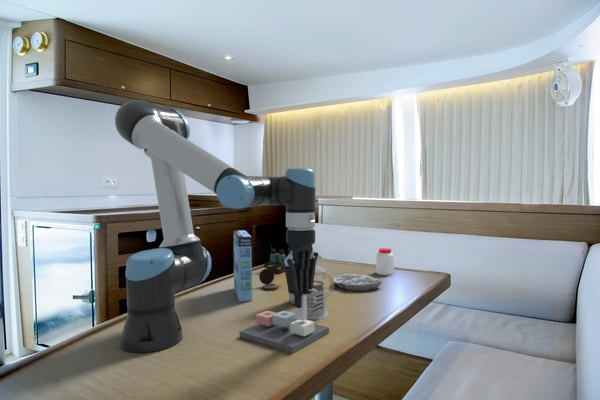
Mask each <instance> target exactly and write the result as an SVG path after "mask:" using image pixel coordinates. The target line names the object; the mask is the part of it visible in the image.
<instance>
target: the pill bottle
mask: <svg viewBox="0 0 600 400" xmlns="http://www.w3.org/2000/svg"><path fill="white" fill-rule="evenodd" d="M394 255H395V254H394V253H393V252H392V249H391V248H389V247H379V248H378V252H377V253H376V256H375V257H376V261H375V263H376V269H375V270H376V274H377V275H382V276H391V275H394V274H395V261H394V260H395V259H394V258H395V256H394Z"/></svg>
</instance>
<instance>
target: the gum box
mask: <svg viewBox="0 0 600 400" xmlns="http://www.w3.org/2000/svg"><path fill="white" fill-rule="evenodd" d="M232 235H233V288H234V292H235V293H236V297H237V300H238V302H239V303H243V302H246V303H247V302H252V301H253V266H252V265H253V262H252V261H253V258H252V257H253V255H252V253H253V252H252V243H253V242H252V239H253V237H252V236H251V234H249V232H248V231H246V230H233V234H232Z"/></svg>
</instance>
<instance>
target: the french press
mask: <svg viewBox="0 0 600 400" xmlns="http://www.w3.org/2000/svg"><path fill="white" fill-rule="evenodd" d="M316 275H317V276H318V275H321V277H322V279H323V280H325V279H326V276H327V277H328V280H329V289H328V291H327V292H326V287H324V285H325V283H324V281H321V280H314V282H313V288H312V290H311V289H310V290H309V291H311V294H307V319H306V320H311V321H312V320H313V321H314V320H322V319H325V318H327V317H329V312H328V311H327V310H326V309H327V307H326V303H327V301H326V300H327V298H328V297H330V295H331V294H332V292H333V291H334V281H333V279H332V277H331V276H330V275H329V274H327V273H326V269H325V268H323V267H322V266H319V265H316V267H315V274H314V276H316ZM331 288H332V289H331ZM313 289H315V290H313Z"/></svg>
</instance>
